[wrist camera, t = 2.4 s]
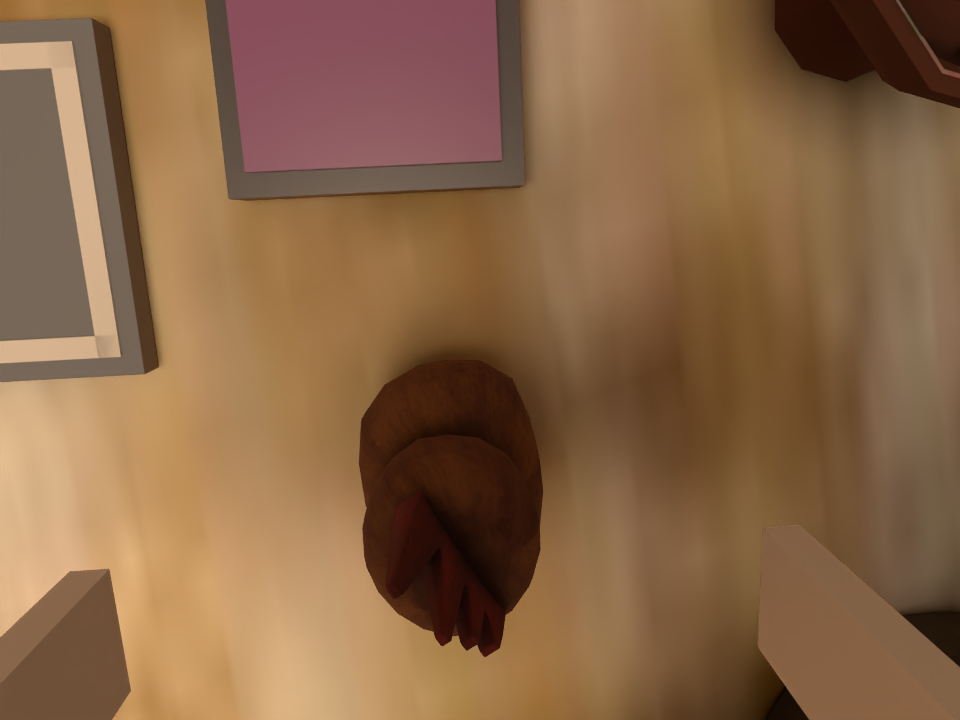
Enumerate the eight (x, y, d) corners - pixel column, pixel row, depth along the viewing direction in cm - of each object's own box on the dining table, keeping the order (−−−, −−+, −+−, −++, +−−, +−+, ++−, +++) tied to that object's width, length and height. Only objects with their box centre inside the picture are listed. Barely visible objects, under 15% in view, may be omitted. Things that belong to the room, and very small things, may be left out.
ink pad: (508, -116, 23) (515, -156, 21) (519, 187, 25) (526, 184, 23) (211, -105, 23) (182, -146, 21) (246, 200, 25) (223, 198, 23)
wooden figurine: (359, 358, 26) (245, 532, 12) (506, 327, 26) (574, 463, 12) (399, 519, 28) (340, 853, 13) (539, 489, 28) (636, 792, 13)
